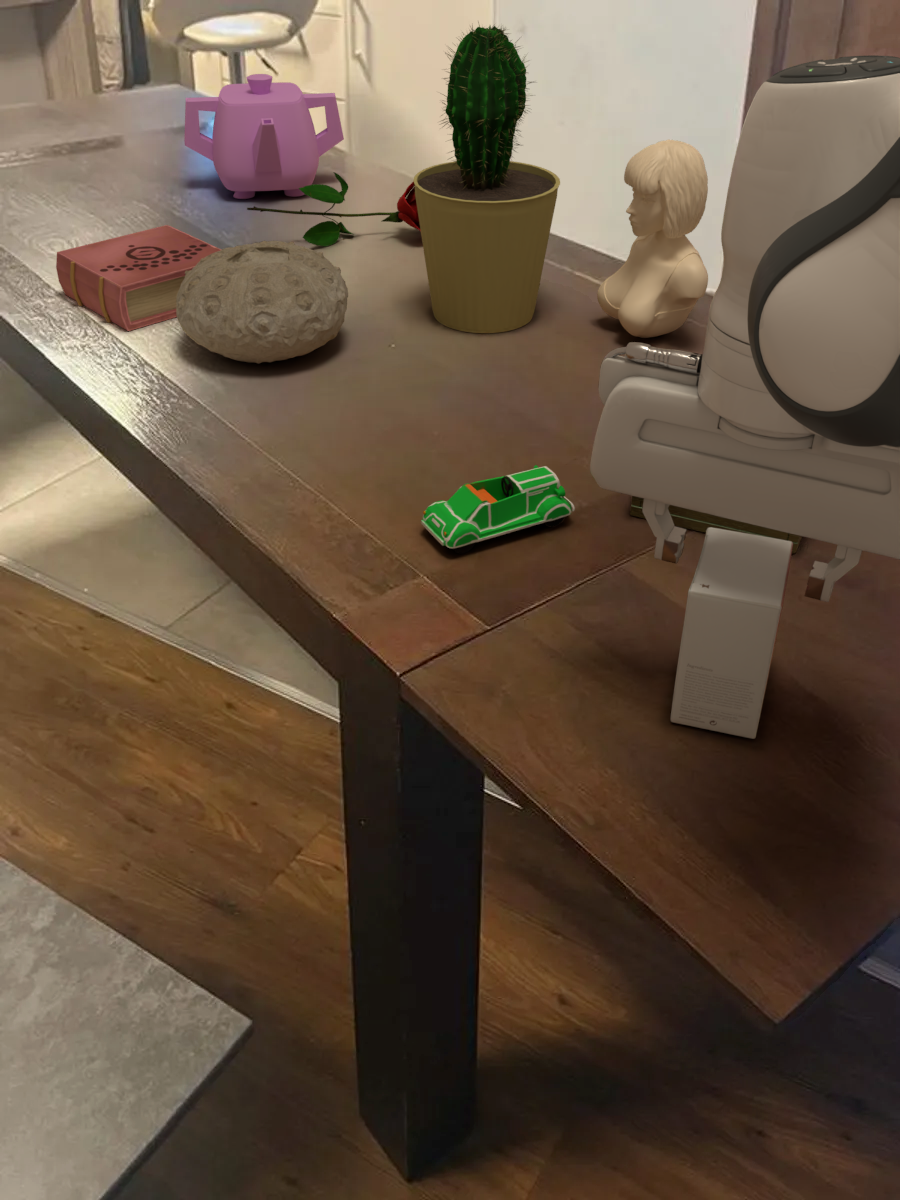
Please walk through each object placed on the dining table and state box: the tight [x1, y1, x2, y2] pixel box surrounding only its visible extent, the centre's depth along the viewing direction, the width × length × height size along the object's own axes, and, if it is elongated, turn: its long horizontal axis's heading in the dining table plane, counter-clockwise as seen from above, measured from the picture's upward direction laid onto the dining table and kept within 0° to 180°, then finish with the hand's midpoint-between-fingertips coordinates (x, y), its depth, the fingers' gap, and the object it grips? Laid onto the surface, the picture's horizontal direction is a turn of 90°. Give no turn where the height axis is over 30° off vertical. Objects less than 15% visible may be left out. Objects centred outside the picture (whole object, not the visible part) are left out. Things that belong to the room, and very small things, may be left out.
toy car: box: [420, 464, 576, 555], centre depth 95 cm, size 12×5×4 cm, turn 118°
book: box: [55, 224, 222, 332], centre depth 135 cm, size 14×15×5 cm
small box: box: [670, 527, 793, 740], centre depth 76 cm, size 8×6×10 cm
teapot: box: [183, 73, 345, 200], centre depth 167 cm, size 19×18×15 cm
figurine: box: [596, 139, 709, 339], centre depth 123 cm, size 14×9×20 cm
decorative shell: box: [176, 240, 349, 365], centre depth 123 cm, size 18×18×10 cm
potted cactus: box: [412, 21, 561, 334], centre depth 124 cm, size 15×15×30 cm
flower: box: [246, 171, 421, 247], centre depth 150 cm, size 9×10×30 cm
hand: (741, 575), depth 74 cm, fingers open, 8 cm apart
